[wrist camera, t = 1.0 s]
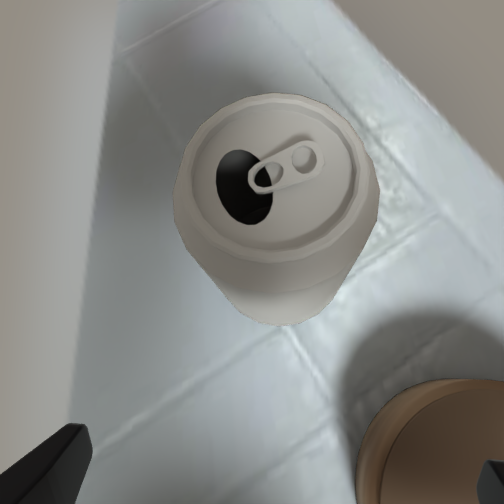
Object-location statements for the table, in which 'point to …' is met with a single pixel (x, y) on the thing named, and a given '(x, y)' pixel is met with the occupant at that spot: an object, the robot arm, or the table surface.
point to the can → (276, 204)
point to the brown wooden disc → (432, 443)
